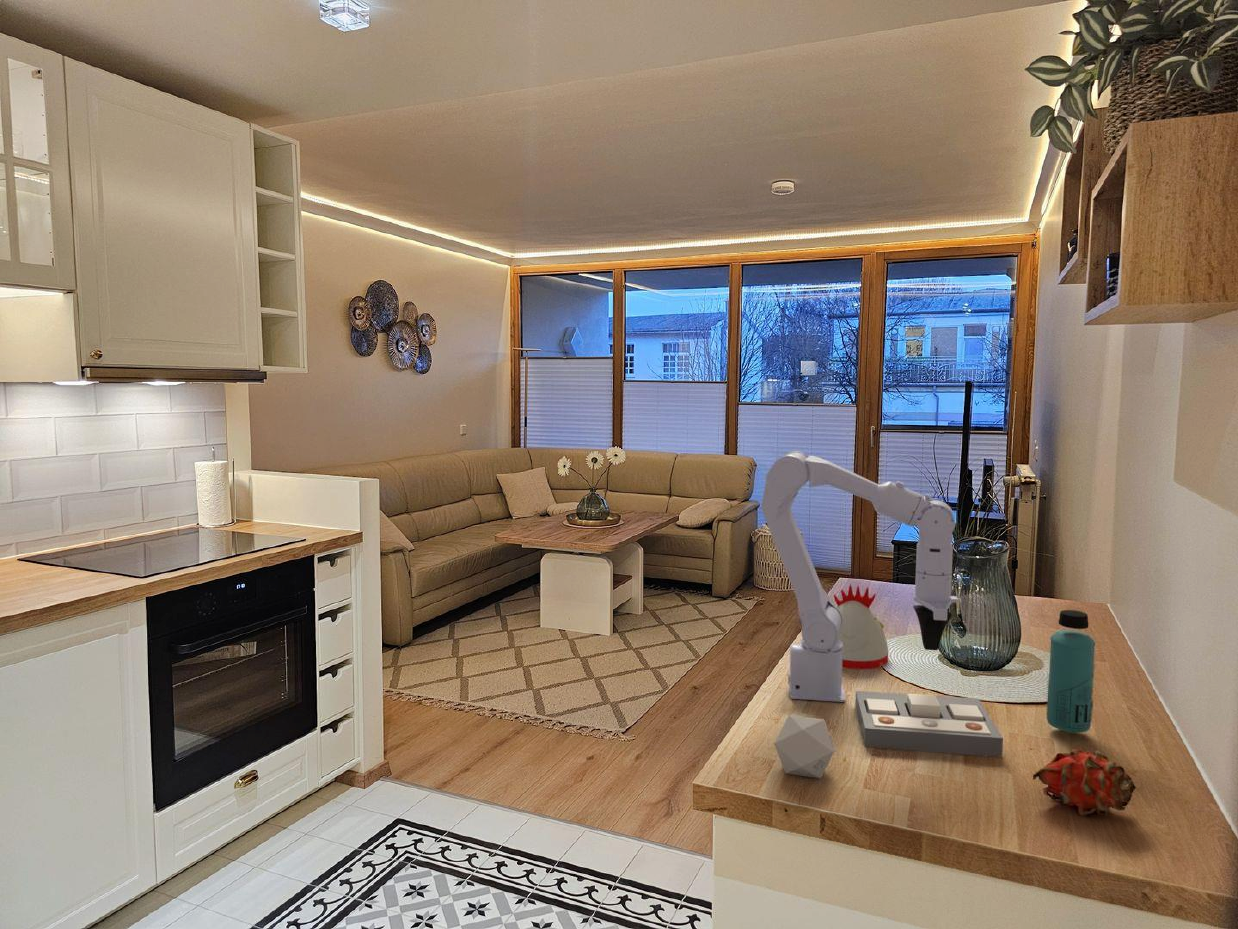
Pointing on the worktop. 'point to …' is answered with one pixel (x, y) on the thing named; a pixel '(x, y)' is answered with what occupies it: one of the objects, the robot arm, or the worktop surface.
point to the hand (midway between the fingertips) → (930, 648)
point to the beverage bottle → (1071, 675)
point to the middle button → (923, 705)
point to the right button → (965, 712)
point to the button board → (927, 728)
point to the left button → (881, 706)
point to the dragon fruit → (1086, 782)
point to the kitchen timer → (861, 632)
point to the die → (804, 746)
